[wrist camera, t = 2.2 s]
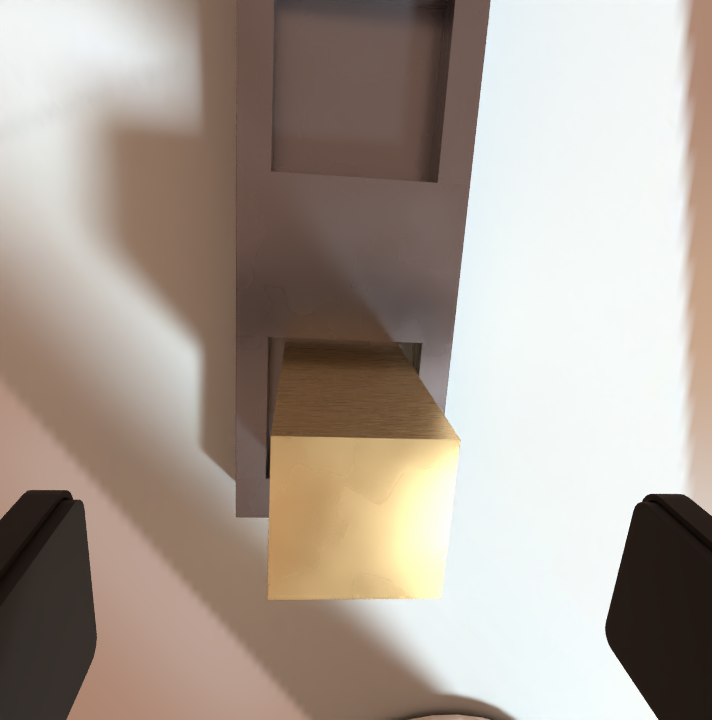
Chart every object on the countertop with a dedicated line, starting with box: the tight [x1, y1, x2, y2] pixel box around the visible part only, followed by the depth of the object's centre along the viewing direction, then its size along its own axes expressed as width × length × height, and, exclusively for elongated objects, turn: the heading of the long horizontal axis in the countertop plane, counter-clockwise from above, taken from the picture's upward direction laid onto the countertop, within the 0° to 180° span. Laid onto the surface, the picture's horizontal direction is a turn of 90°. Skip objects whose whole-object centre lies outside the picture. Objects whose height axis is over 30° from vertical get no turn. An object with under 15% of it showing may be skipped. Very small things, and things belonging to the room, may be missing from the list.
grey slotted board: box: [236, 0, 490, 518], centre depth 18 cm, size 18×7×2 cm, turn 176°
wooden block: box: [267, 342, 460, 600], centre depth 16 cm, size 4×4×8 cm
